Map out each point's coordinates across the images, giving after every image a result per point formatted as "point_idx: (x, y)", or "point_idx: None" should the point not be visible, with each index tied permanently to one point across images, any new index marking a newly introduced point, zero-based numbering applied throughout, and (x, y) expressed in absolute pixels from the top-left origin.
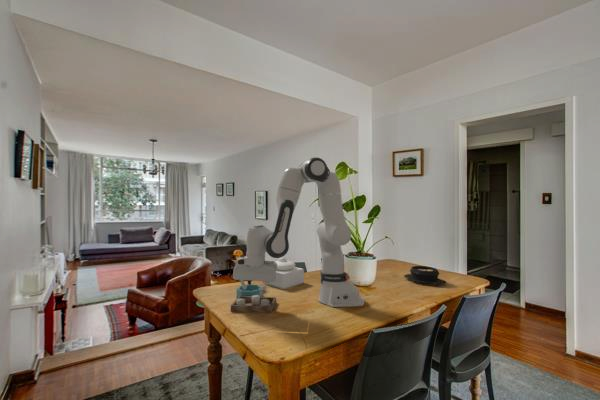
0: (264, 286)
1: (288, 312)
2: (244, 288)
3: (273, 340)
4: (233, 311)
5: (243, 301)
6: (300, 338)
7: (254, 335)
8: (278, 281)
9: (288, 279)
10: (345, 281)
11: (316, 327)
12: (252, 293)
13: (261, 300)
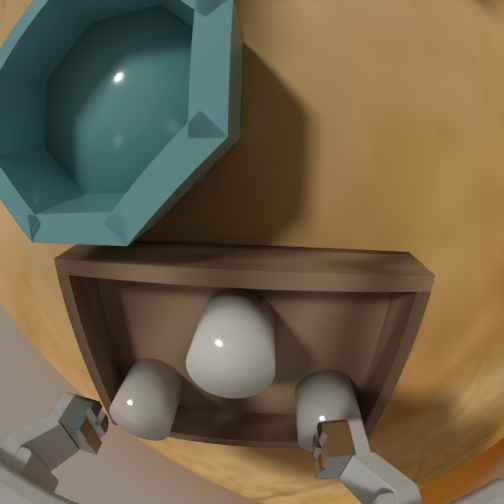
0: (343, 462)
1: (446, 375)
2: (95, 431)
3: (344, 500)
4: None
5: (167, 433)
6: None
7: (293, 498)
8: None
9: None
10: None
11: (472, 437)
12: (147, 226)
13: (303, 438)
